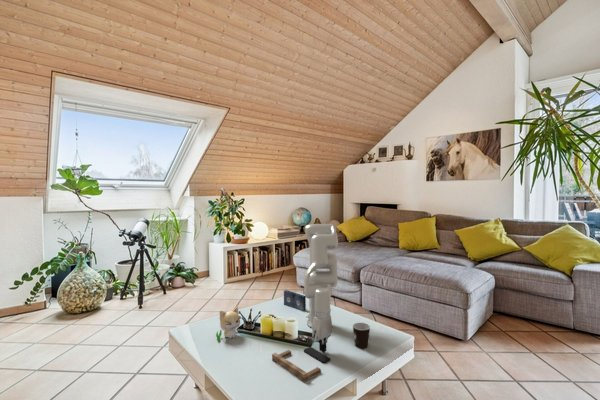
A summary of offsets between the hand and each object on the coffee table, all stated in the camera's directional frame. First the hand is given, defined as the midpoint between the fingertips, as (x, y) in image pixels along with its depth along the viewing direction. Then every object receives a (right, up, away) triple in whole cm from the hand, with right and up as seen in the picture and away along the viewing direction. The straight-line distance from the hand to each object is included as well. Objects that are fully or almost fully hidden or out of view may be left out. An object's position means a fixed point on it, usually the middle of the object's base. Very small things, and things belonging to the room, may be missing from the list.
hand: (322, 350), depth 151 cm
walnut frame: (-13, -1, -11) cm, 17 cm away
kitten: (-50, -1, +17) cm, 53 cm away
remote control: (-3, -2, -3) cm, 5 cm away
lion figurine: (-24, -1, +23) cm, 33 cm away
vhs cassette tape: (-15, +1, +58) cm, 60 cm away
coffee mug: (+20, -1, +8) cm, 22 cm away
